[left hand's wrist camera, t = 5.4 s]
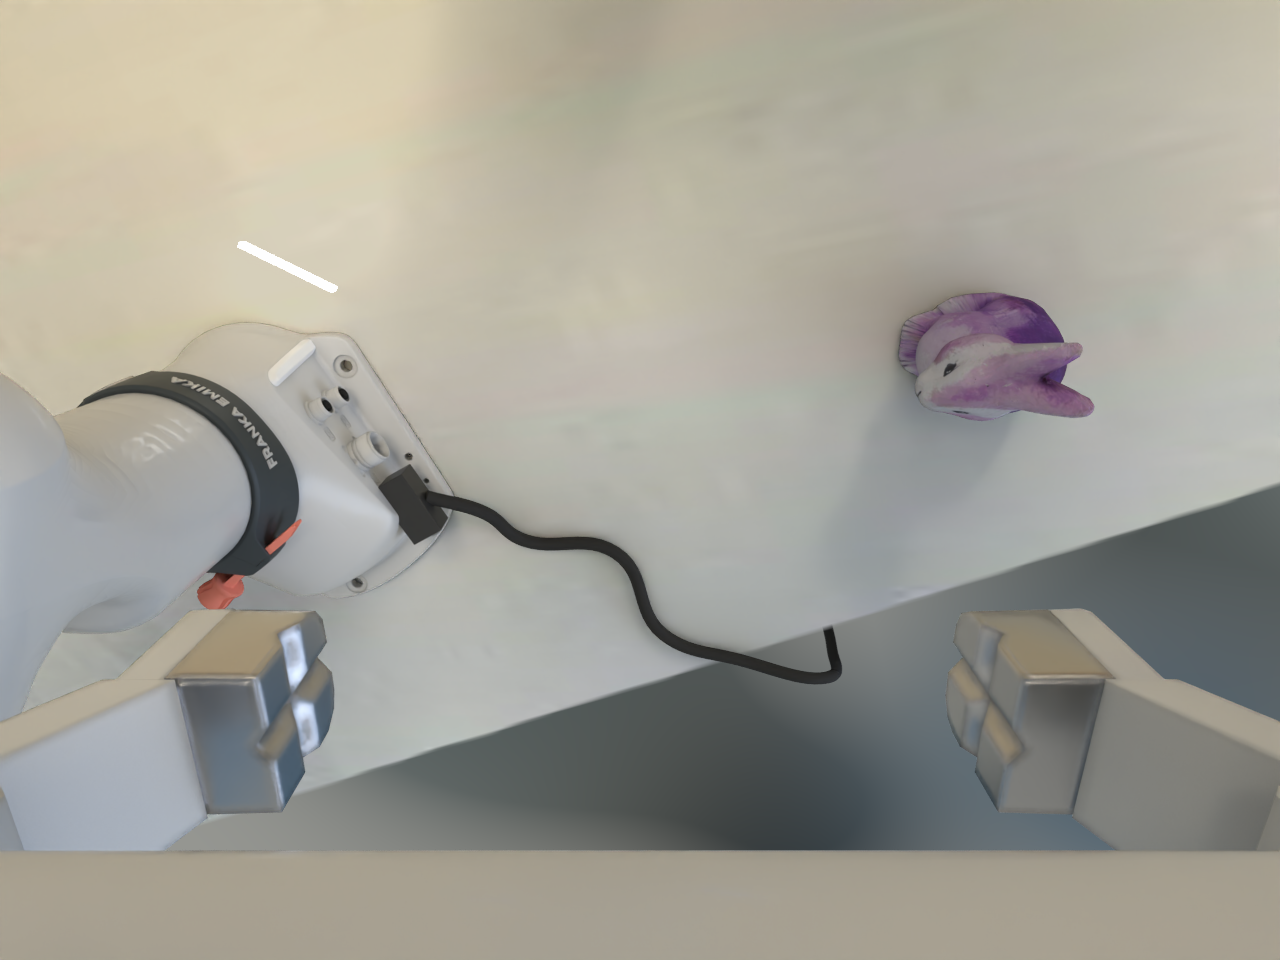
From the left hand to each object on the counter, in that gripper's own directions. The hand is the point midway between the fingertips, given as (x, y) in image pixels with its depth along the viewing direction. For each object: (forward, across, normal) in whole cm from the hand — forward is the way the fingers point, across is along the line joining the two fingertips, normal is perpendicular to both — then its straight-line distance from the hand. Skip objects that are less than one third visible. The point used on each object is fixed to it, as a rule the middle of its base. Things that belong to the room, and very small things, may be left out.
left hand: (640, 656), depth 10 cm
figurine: (+48, -23, +5) cm, 53 cm away
